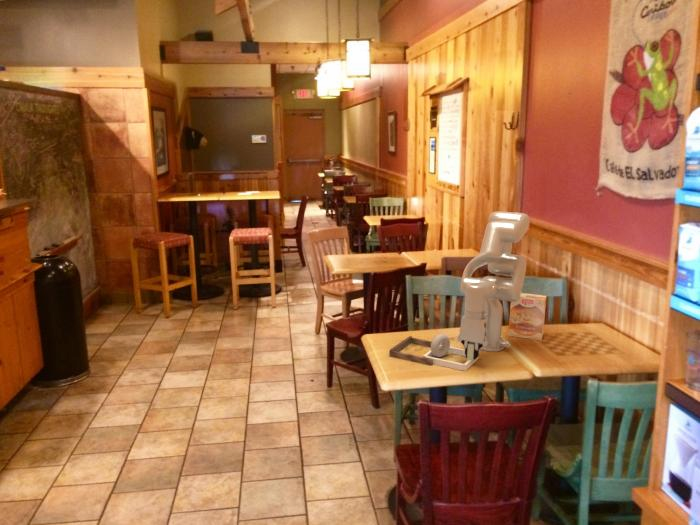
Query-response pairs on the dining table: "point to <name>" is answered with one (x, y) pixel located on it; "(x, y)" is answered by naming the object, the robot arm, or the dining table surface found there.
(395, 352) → the brown piece
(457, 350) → the white open rectangular frame
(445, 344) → the grey wheel
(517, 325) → the coffeecake box
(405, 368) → the dining table surface
